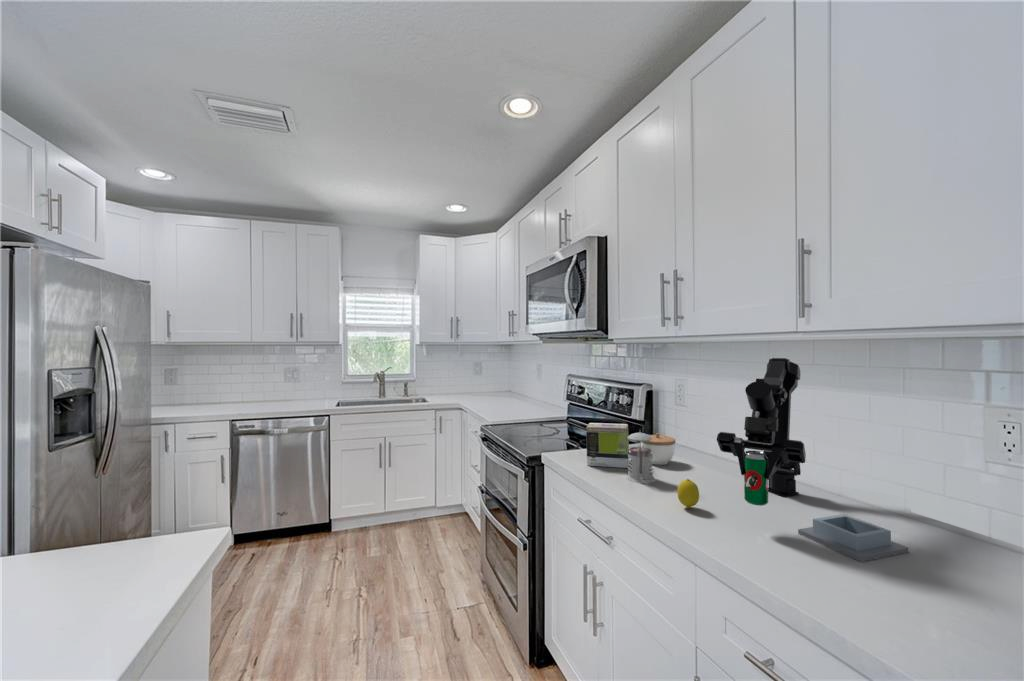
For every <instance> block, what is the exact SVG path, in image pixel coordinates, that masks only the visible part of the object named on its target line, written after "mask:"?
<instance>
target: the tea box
mask: <svg viewBox="0 0 1024 681" xmlns="http://www.w3.org/2000/svg"><path fill="white" fill-rule="evenodd" d="M585 429H586V430H585V432H586V436H585V438H586V465H587V466H589V467H590V466H591V467H605V468H623V469H628V467H629V465H628V463H629V464H630V462H629V461H628V459H629V460H630V458H628V453H629V452H630V450H629V449H630V445H629V441H630V440H629V439H628V436H629V424H628V423H611V422H609V423H607V422H606V423H604V422H589V423H588V425H587V426H586V427H585Z"/></svg>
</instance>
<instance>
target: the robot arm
mask: <svg viewBox="0 0 1024 681" xmlns="http://www.w3.org/2000/svg"><path fill="white" fill-rule="evenodd" d="M800 380H801V368H800V366H799V364H797V363H795V362H792V361H790V359H789V358H785V357H772V358H769V360H768V363H766V372H765V374H764V377H763V378H756V379H755V381H753V382H750V383H749V384H748V385H746V386H745V394H746V398H747V402H748V406H749V408H750V410H752V411H751V412H752V413H751V416H745V418H744V430H745V432H744V433H745V434H744V435H745V438H747V439H743V438H742V437H738V436H737V435H736V433H735V432H734V433H733V432H728V431H727V432H726V431H719V433H717V435H716V442H717V445H718V447H719V449H720V452H723V453H728V454H729V453H730V454H732V455H733V457H737V460H738V464H739V470H740V474H741V476H744V455H745V454H746V453H745V452H746V451H745V450H746V449H748V450H753V451H760V452H763V453H766V457H767V458H768V470H767V480H768V493H772V494H775V495H778V496H781V497H789V496H796V495H800V492H798V491H797V481H796V479H795V478H796V477H797V476H801V471H802V470H801V464H804V463H806V454H807V453H806V448H805V443H804V442H803V441H802V440H797V439H796V440H794V439H790V433H791V432H790V430H791V405H792V393H793V392H794V391H795V390H796V389H797V388H798V383H799V381H800Z"/></svg>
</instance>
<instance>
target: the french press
mask: <svg viewBox="0 0 1024 681" xmlns="http://www.w3.org/2000/svg"><path fill="white" fill-rule="evenodd" d="M643 407H644V406H643V404H641V403H638V404H637V405H636V408H637V409H639V415H641V408H643ZM650 435H651V434H647V433H645V432H644V433H643V432H641V431H639V432H634V433H631V434H628V439H629V441H633V442H639V444H637V446H633V447H629V453H628V458H629V459H628V461H629V463H628V468H627V470H628V471H627V473H628V474H627V475H626V476H625V477H624V478H625V480H627V481H629V482H632V483H636V484H637V483H638V484H652V483H654V482H656V481H657V479H656V478H655V477H654V472H653V468H652V467H653V465H654V464H651V463H653V460H652V461H650V460H651V459H653V455H652V454H651V453H650V452H651V449H648V448H644V445H643V448H641V442H645V441H650V440H652V439H653V438H652V437H651V436H650Z"/></svg>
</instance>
